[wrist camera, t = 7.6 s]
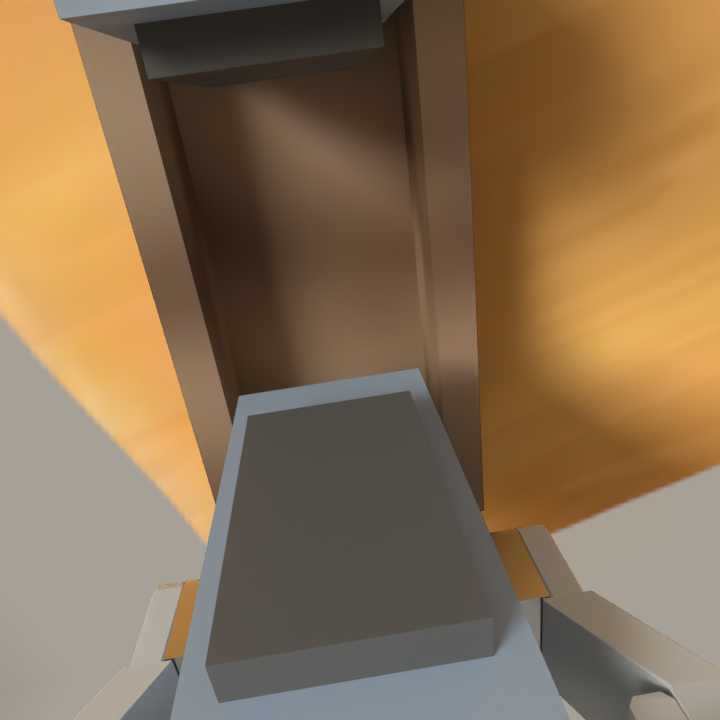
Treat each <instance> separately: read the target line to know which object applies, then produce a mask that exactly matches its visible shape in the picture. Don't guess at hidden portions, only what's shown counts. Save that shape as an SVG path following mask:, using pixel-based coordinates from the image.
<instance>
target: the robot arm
mask: <svg viewBox="0 0 720 720" xmlns="http://www.w3.org/2000/svg"><path fill="white" fill-rule="evenodd" d="M490 535H491V537H492V540H493V542H494V544H495V546H496V549H497V551H498V553H499V556H500V558H501V560H502V563H503V565H504V567H505V570H506V572H507V574H508V577H509V579H510V581H511V584H512V586H513V588H514V590H515V593H516V595H517V597H518V600H519V602H520V604H521V607H522V609H523V611H524V614H525V616H526V618H527V621H528V623H529V625H530V628H531V630H532V632H533V635H534V637H535V639H536V641H537V644H538V646H539V648H540V651H541V653H542V655H543V658H544V660H545V662H546V665H547V667H548V669H549V672H550V674H551V676H552V679H553V681H554V683H555V685H556V688H557V690H558V692H559V695H560V696H561V697H562V698H563V699H564V700H566V701H567V702H568V703H569V704H570V705H571V706H572V707H573V708H574V709H575V710H576V711H577V712H578V713H579V714H580V715H581V716H582V717H583V718H585V720H720V669H718V668H716V667H715V666H713V665H711V664H710V663H708V662H707V661H705V660H703V659H702V658H700V657H698V656H697V655H695V654H694V653H692V652H690V651H688V650H687V649H685V648H684V647H682V646H680V645H679V644H677V643H676V642H674V641H672V640H671V639H669V638H667V637H666V636H664V635H663V634H661V633H659V632H658V631H656V630H654V629H653V628H651V627H650V626H648V625H646V624H645V623H643V622H642V621H640V620H638V619H637V618H635V617H633V616H632V615H630V614H628V613H627V612H625V611H624V610H622V609H620V608H619V607H617V606H615V605H614V604H612V603H611V602H609V601H607V600H606V599H604V598H603V597H601V596H599V595H598V594H596V593H594V592H593V591H587V592H583V591H582V589H581V587H580V585H579V584H578V582H577V580H576V578H575V577H574V575H573V573H572V571H571V570H570V568H569V566H568V564H567V563H566V561H565V559H564V557H563V556H562V554H561V552H560V551H559V549H558V547H557V545H556V544H555V542H554V540H553V538H552V537H551V535H550V533H549V531H548V530H547V528H546V527H545V526H544V525H543V524H537V525H532V526H526V527H520V528H515V529H510V530H504V531H498V532H492V533H490ZM199 582H200V579H199V580H191V581H186V582H181V583H173V584H166V585H159V586H158V588H157V589H156V590H155V591H154V593H153V596H152V599H151V602H150V605H149V608H148V611H147V614H146V618H145V621H144V624H143V627H142V630H141V633H140V636H139V640H138V643H137V646H136V649H135V652H134V655H133V658H132V661H131V664H130V667H126V668H121V669H120V670H119V671H118V672H117V673H116V674H115V675H114V676H113V677H112V678H111V680H109V682H108V683H107V684H106V685H105V686H104V687H103V688H102V689H101V690H100V691H99V692H98V693H97V694H96V695H95V696H94V697H93V698H92V699H91V701H89V703H88V704H87V705H86V706H85V707H84V708H83V709H82V710H81V711H80V712H79V713H78V714H77V715H76V716H75V717H74V719H72V720H170V718H171V713H172V708H173V704H174V699H175V694H176V690H177V685H178V680H179V675H180V671H181V666H182V661H183V657H184V652H185V647H186V643H187V638H188V633H189V629H190V624H191V619H192V614H193V610H194V605H195V600H196V596H197V591H198V586H199Z"/></svg>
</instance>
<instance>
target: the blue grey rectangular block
mask: <svg viewBox="0 0 720 720" xmlns="http://www.w3.org/2000/svg"><path fill="white" fill-rule="evenodd" d="M170 720H570V718H569V716H568V713H567V711H566V709H565V706H564V704H563V702H562V700H561V697H560V695H559V692H558V690H557V688H556V685H555V683H554V681H553V679H552V676H551V674H550V672H549V669H548V667H547V665H546V662H545V660H544V658H543V655H542V653H541V651H540V648H539V646H538V644H537V641H536V639H535V637H534V635H533V632H532V630H531V628H530V625H529V623H528V621H527V618H526V616H525V614H524V611H523V609H522V607H521V604H520V602H519V600H518V597H517V595H516V593H515V590H514V588H513V586H512V584H511V581H510V579H509V577H508V574H507V572H506V570H505V567H504V565H503V563H502V560H501V558H500V556H499V553H498V551H497V549H496V546H495V544H494V542H493V540H492V537H491V535H490V533H489V530H488V528H487V526H486V523H485V521H484V519H483V516H482V514H481V512H480V509H479V507H478V505H477V502H476V500H475V498H474V496H473V493H472V491H471V489H470V486H469V484H468V482H467V479H466V477H465V475H464V472H463V470H462V468H461V465H460V463H459V461H458V458H457V456H456V454H455V451H454V449H453V447H452V445H451V442H450V440H449V438H448V435H447V433H446V431H445V428H444V426H443V424H442V421H441V419H440V417H439V414H438V412H437V410H436V407H435V405H434V403H433V401H432V398H431V396H430V394H429V391H428V389H427V387H426V384H425V382H424V380H423V377H422V375H421V373H420V370H419V368H416V369H410V370H403V371H397V372H390V373H384V374H378V375H371V376H365V377H358V378H352V379H345V380H339V381H332V382H326V383H319V384H313V385H307V386H300V387H294V388H287V389H281V390H274V391H268V392H261V393H255V394H248V395H242V396H239V398H238V403H237V408H236V413H235V417H234V422H233V427H232V431H231V436H230V441H229V445H228V450H227V455H226V460H225V464H224V469H223V474H222V478H221V483H220V488H219V492H218V497H217V502H216V506H215V511H214V516H213V521H212V525H211V530H210V535H209V539H208V544H207V549H206V553H205V558H204V563H203V568H202V572H201V577H200V582H199V586H198V591H197V596H196V600H195V605H194V610H193V614H192V619H191V624H190V629H189V633H188V638H187V643H186V647H185V652H184V657H183V661H182V666H181V671H180V675H179V680H178V685H177V690H176V694H175V699H174V704H173V708H172V713H171V718H170Z"/></svg>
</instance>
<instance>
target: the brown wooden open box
mask: <svg viewBox="0 0 720 720" xmlns="http://www.w3.org/2000/svg"><path fill="white" fill-rule="evenodd" d="M54 3H55V6H56V10H57V13H58V16H59V19H61V20H64V21H67V22H70V23H71V26H72V29H73V32H74V36H75V39H76V42H77V46H78V49H79V52H80V56H81V59H82V62H83V65H84V69H85V72H86V75H87V79H88V82H89V85H90V89H91V92H92V95H93V99H94V102H95V105H96V109H97V112H98V115H99V119H100V122H101V125H102V129H103V132H104V135H105V139H106V142H107V145H108V148H109V152H110V155H111V158H112V162H113V165H114V168H115V172H116V175H117V178H118V182H119V185H120V188H121V192H122V195H123V198H124V202H125V205H126V208H127V212H128V215H129V218H130V222H131V225H132V228H133V232H134V235H135V238H136V241H137V245H138V248H139V251H140V255H141V258H142V261H143V265H144V268H145V271H146V275H147V278H148V281H149V285H150V288H151V291H152V295H153V298H154V301H155V305H156V308H157V311H158V315H159V318H160V321H161V324H162V328H163V331H164V334H165V338H166V341H167V344H168V348H169V351H170V354H171V358H172V361H173V364H174V368H175V371H176V374H177V378H178V381H179V384H180V388H181V391H182V394H183V398H184V401H185V404H186V407H187V411H188V414H189V417H190V421H191V424H192V427H193V431H194V434H195V437H196V441H197V444H198V447H199V451H200V454H201V457H202V461H203V464H204V467H205V471H206V474H207V477H208V481H209V484H210V487H211V490H212V494H213V497H214V500H215V504H216V502H217V497H218V492H219V488H220V483H221V478H222V474H223V469H224V464H225V460H226V455H227V450H228V445H229V441H230V436H231V431H232V427H233V422H234V417H235V413H236V408H237V403H238V398H239V396H242V395H248V394H255V393H261V392H268V391H274V390H281V389H287V388H294V387H300V386H307V385H313V384H319V383H326V382H332V381H339V380H345V379H352V378H358V377H365V376H371V375H378V374H384V373H390V372H397V371H403V370H410V369H416V368H419V370H420V373H421V375H422V377H423V380H424V382H425V384H426V387H427V389H428V391H429V394H430V396H431V398H432V401H433V403H434V405H435V407H436V410H437V412H438V414H439V417H440V419H441V421H442V424H443V426H444V428H445V431H446V433H447V435H448V438H449V440H450V442H451V445H452V447H453V449H454V451H455V454H456V456H457V458H458V461H459V463H460V465H461V468H462V470H463V472H464V475H465V477H466V479H467V482H468V484H469V486H470V489H471V491H472V493H473V496H474V498H475V500H476V502H477V505H478V507H479V509H480V511H483V510H484V499H483V474H482V449H481V424H480V398H479V373H478V348H477V322H476V297H475V272H474V246H473V221H472V196H471V170H470V145H469V120H468V95H467V69H466V44H465V19H464V0H54Z"/></svg>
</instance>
